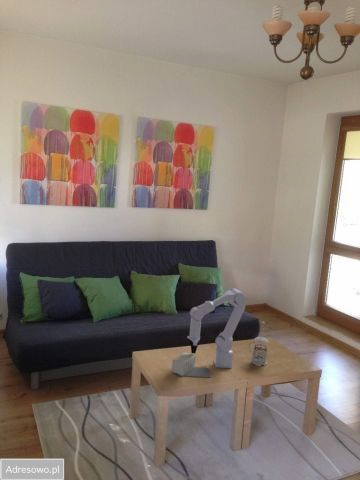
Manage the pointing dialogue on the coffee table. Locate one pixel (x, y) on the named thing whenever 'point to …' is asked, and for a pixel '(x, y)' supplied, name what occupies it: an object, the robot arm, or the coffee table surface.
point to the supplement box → (183, 363)
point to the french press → (259, 359)
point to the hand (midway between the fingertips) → (193, 352)
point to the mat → (197, 372)
